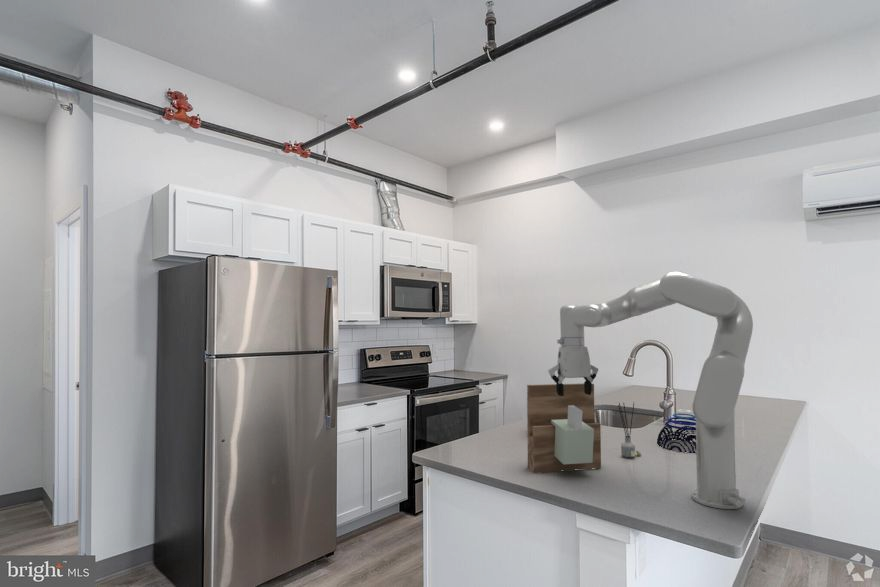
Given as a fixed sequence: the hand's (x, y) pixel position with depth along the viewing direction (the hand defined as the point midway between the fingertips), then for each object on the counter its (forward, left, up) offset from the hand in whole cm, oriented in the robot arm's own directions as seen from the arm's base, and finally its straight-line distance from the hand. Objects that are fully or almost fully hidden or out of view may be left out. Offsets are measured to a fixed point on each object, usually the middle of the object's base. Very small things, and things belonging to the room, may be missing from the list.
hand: (574, 394), depth 156 cm
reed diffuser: (+15, -29, -26) cm, 42 cm away
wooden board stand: (+7, 0, -26) cm, 27 cm away
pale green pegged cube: (+2, 0, -21) cm, 21 cm away
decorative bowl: (+23, -59, -26) cm, 69 cm away
